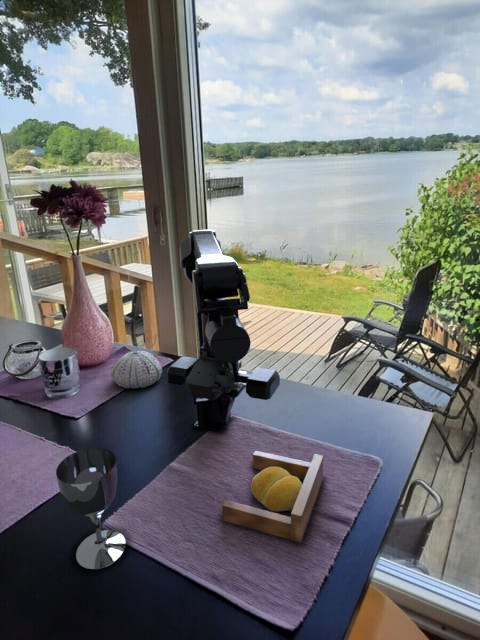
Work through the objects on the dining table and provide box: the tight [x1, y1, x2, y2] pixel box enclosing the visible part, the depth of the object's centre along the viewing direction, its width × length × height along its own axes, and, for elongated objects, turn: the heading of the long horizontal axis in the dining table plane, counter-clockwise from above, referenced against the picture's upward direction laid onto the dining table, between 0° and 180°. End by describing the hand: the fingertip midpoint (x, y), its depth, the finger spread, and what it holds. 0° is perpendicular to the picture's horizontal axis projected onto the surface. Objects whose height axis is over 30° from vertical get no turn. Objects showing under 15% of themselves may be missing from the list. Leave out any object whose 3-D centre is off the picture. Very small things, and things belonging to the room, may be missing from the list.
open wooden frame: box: [221, 450, 324, 543], centre depth 74 cm, size 13×15×5 cm
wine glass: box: [55, 447, 127, 570], centre depth 63 cm, size 8×8×15 cm
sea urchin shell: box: [110, 350, 163, 390], centre depth 117 cm, size 13×14×8 cm
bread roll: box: [250, 467, 303, 513], centre depth 75 cm, size 8×9×4 cm
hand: (224, 420), depth 77 cm, fingers closed
